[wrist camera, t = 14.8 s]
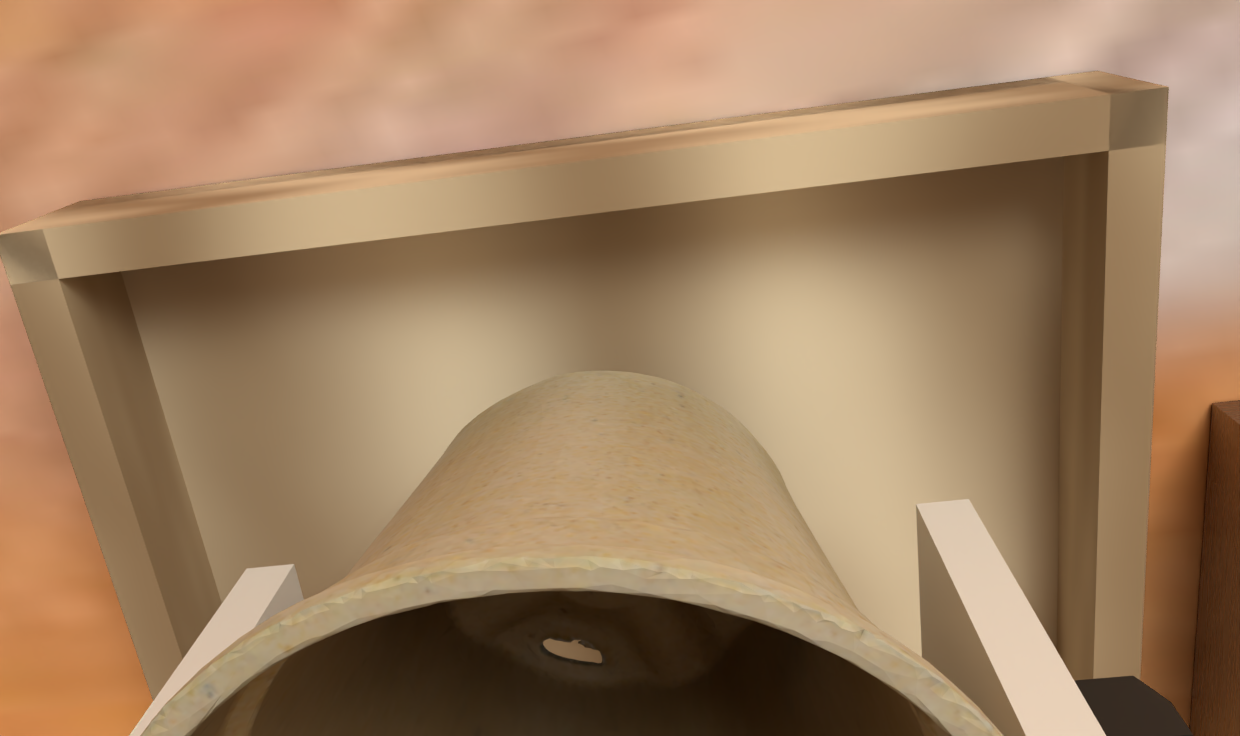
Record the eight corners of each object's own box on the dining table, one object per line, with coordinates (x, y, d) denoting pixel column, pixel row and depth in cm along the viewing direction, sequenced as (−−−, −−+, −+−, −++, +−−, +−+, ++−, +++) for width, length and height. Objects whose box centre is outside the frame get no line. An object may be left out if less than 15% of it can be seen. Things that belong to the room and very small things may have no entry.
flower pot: (905, 730, 19) (1091, 1277, 11) (405, 786, 20) (238, 1337, 12) (863, 230, 16) (1081, 486, 8) (270, 319, 17) (-82, 636, 9)
